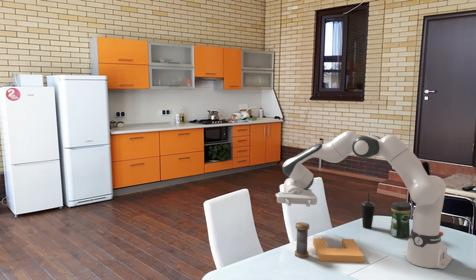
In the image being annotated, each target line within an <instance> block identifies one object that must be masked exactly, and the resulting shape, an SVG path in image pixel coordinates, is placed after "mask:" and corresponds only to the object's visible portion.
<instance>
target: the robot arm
mask: <svg viewBox="0 0 476 280" xmlns="http://www.w3.org/2000/svg"><path fill="white" fill-rule="evenodd" d="M352 153H353V154H354V156H356V157H357V158H361V159H372V158H375V157H378V156H379V155H380V156H382V157H383V159H385V160H386V161H387V162H388V164H389V165H390V166H391V167H392V168H393V170H395V172H396V173H397V175H398V176H399V177H400V178H401V180H402V181H403V183H404V185H405V187H406V189H407V191H408V192H409V195H410V198H411V200H412V202H414V203H415V207H414V211H413V214H412V215H413V216H412V228H411V230H410V238H408V240H407V245H406V251H404V252H403V256H404V257H405V258H406V260H407V262H409V263H410V264H413V265H415V266H416V267H417V266H418V267H422V268H427V269H433V268H434V269H443V270H445V269H446V268H447V267H448V266H449V264H450V262H451V261H452V260H453V256H452V255H450V254H449V253H448V245H446V244H445V243H444V242H443V241H442V237H443V236H444V232H443V231H440V229H441V216H442V211H443V207H444V200H445V195H446V188H447V185H446V182H445V180H444V179H443V178H442V177H439V176H437V175H429V174H428V173H427V171H426V170H425V167H424V165H423V163H422V162H421V160H420V159H419V158H418V157H417V155H416V154H415V153H414V152H413V151H412V150H411V149H410V147H409V146H408V145H406V143H404V141H403V140H401V139H400V138H398V136H396V135H394V134H386V135H385V136H383V137H382V138H381V137H379V136H377V135H371V134H365V135H360V136H358V134H356V132H354V131H353V130H346V131H344V132H342V133H340V134H339V135H337V136H336V137H334V138H333V139H332V140H331V141H328V142H326V143H317V144H314V145H312V146H310V147H309V148H307V149H305V150H303V151H302V152H300V153H298V154H297V155H295V156H292V157H290V158H288V159H286V160H285V162H283V164H282V166H281V167H282V169H281V170H282V172H283V174H284V175H285V176H286V177H288V178H286V179H285V181H284V183H283V191H279V192H277V193H275V197H276V203H278V204H286V205H287V206H288V207H289V206H292V205H305V206H306V207H310V206H316V205H317V204H318V197H317V195H316V194H315V192H313V190H312V189H310V188H311V187H312V186H313V184H314V181H315V176H314V173H312V172H311V171H310V170H309V169H308V168H307V167H305V166H304V165H303V163H304V162H307V161H308V160H310V159H312V158H313V159H314V158H317V159H320V160H323V161H325V162H329V163H333V164H336V163H339V162H342V161H344V160H345V159H346V158H347V157H348V156H350V155H351V154H352Z"/></svg>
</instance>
